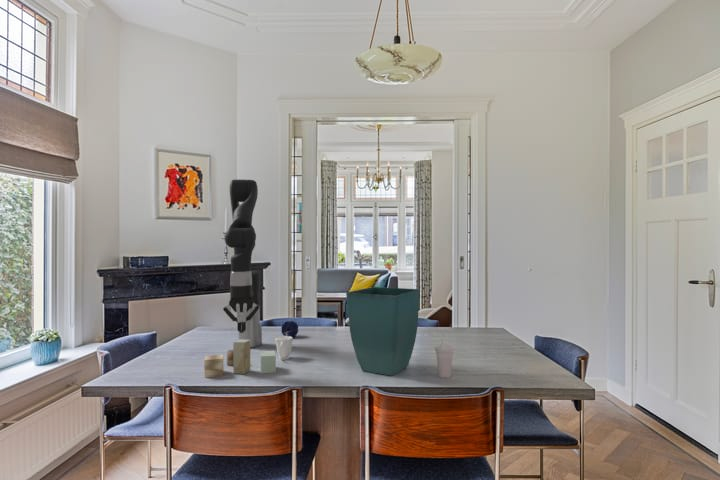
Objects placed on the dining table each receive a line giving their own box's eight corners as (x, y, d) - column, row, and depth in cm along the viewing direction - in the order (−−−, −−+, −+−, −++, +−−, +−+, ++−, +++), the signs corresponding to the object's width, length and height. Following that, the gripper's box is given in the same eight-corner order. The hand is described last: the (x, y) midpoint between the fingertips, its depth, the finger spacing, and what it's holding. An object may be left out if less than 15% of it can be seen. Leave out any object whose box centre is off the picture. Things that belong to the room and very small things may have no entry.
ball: (296, 338, 206) (296, 322, 206) (280, 339, 207) (280, 323, 207) (299, 335, 214) (298, 319, 214) (283, 335, 215) (283, 320, 215)
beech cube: (223, 371, 155) (223, 354, 155) (222, 375, 150) (222, 358, 150) (205, 372, 154) (205, 355, 154) (204, 377, 148) (204, 360, 148)
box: (244, 374, 151) (243, 342, 151) (232, 373, 152) (232, 342, 152) (251, 369, 156) (250, 339, 156) (240, 369, 157) (239, 338, 157)
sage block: (274, 367, 160) (274, 350, 160) (275, 372, 153) (275, 355, 153) (260, 368, 158) (260, 351, 158) (261, 373, 152) (261, 356, 152)
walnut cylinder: (236, 361, 167) (236, 348, 167) (243, 364, 164) (243, 351, 164) (224, 364, 164) (224, 351, 164) (231, 367, 160) (231, 353, 160)
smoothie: (433, 373, 149) (432, 332, 149) (451, 372, 150) (450, 332, 150) (438, 379, 143) (437, 336, 143) (456, 378, 143) (456, 336, 143)
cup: (294, 355, 175) (294, 335, 175) (289, 362, 165) (289, 341, 165) (277, 355, 175) (277, 335, 175) (271, 362, 165) (271, 341, 165)
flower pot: (396, 381, 141) (395, 295, 141) (345, 372, 151) (345, 292, 151) (421, 366, 158) (420, 289, 158) (374, 359, 168) (373, 286, 168)
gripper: (221, 285, 149) (221, 336, 149) (260, 284, 152) (261, 333, 152) (222, 283, 156) (222, 331, 156) (259, 282, 159) (260, 329, 159)
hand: (241, 332), depth 154 cm, fingers closed
